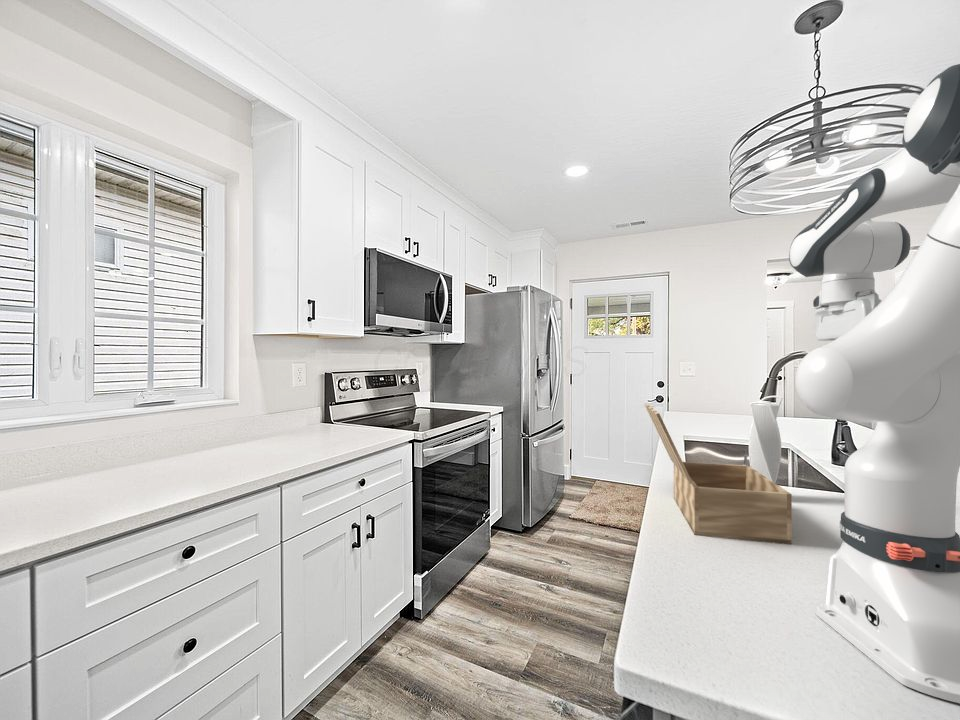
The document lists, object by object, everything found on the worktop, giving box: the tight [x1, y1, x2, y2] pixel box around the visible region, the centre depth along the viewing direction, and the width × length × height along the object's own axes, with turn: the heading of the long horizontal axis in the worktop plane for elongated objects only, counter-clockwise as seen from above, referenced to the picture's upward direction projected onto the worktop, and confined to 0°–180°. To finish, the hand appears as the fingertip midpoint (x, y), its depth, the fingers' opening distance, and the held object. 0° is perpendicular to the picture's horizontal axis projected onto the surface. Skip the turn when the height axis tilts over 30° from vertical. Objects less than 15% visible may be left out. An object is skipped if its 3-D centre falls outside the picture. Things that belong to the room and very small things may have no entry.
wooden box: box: [673, 461, 793, 545], centre depth 103 cm, size 26×18×10 cm
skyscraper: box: [742, 395, 784, 484], centre depth 119 cm, size 8×8×28 cm
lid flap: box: [644, 403, 692, 484], centre depth 106 cm, size 25×16×1 cm
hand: (846, 360), depth 94 cm, fingers closed
